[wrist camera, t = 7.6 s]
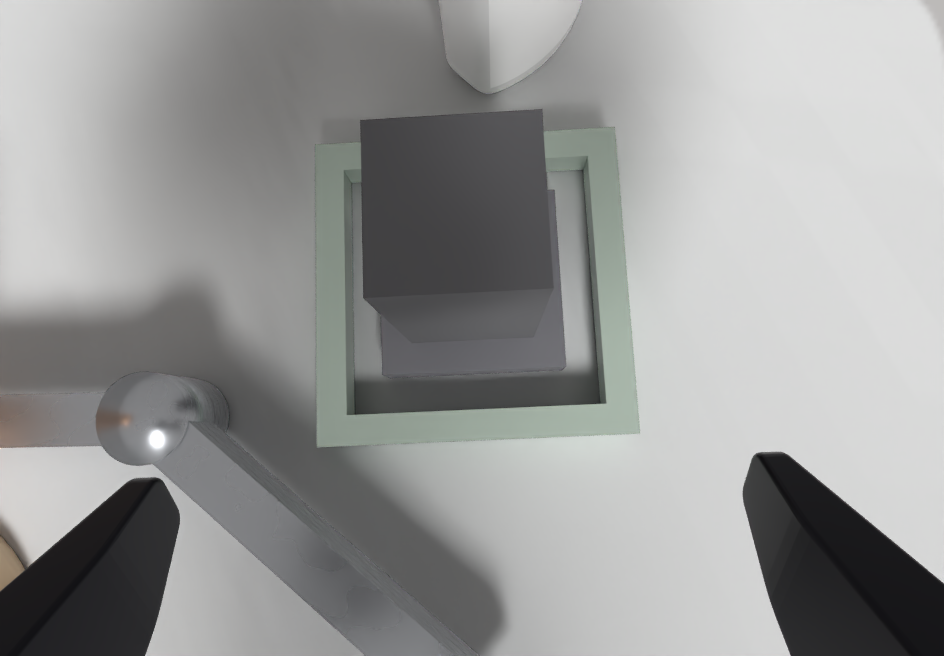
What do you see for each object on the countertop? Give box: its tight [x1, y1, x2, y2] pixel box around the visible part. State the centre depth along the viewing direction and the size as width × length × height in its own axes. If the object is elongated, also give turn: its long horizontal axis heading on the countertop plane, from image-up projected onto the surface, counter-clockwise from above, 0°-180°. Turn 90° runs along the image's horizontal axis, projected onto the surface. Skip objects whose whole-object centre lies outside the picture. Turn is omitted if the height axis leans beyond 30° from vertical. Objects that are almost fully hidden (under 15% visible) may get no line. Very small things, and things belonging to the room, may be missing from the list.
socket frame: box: [315, 127, 640, 447], centre depth 22 cm, size 10×10×1 cm
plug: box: [360, 109, 566, 378], centre depth 18 cm, size 6×6×9 cm
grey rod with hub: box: [0, 372, 480, 656], centre depth 17 cm, size 21×8×8 cm, turn 51°
